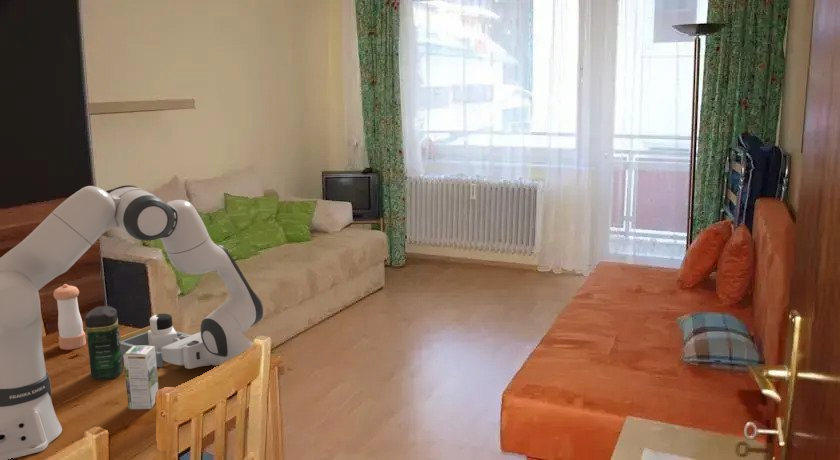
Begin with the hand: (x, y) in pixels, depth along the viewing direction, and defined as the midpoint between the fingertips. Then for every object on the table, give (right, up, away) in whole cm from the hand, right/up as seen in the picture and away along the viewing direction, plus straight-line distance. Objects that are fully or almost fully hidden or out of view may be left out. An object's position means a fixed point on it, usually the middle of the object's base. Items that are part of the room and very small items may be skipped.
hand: (177, 339), depth 212 cm
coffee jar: (-16, -8, -9) cm, 20 cm away
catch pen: (-7, -5, +5) cm, 10 cm away
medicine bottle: (-5, -5, +4) cm, 8 cm away
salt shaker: (-36, -4, +13) cm, 38 cm away
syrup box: (+1, -12, -28) cm, 31 cm away
